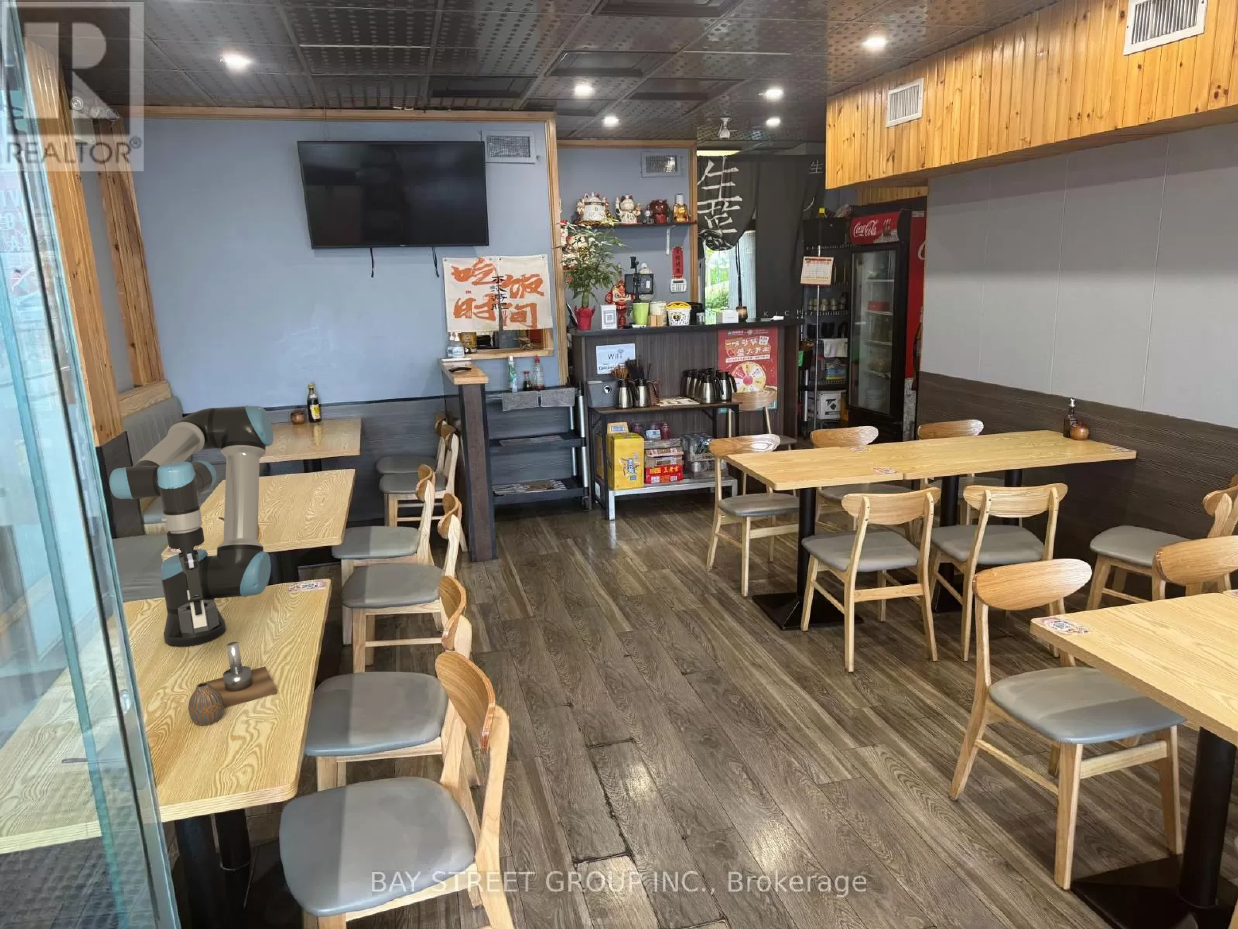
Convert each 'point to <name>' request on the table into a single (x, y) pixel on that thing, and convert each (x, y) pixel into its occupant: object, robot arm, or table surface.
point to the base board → (257, 690)
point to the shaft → (236, 671)
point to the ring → (187, 619)
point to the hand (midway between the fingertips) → (198, 620)
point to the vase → (205, 704)
